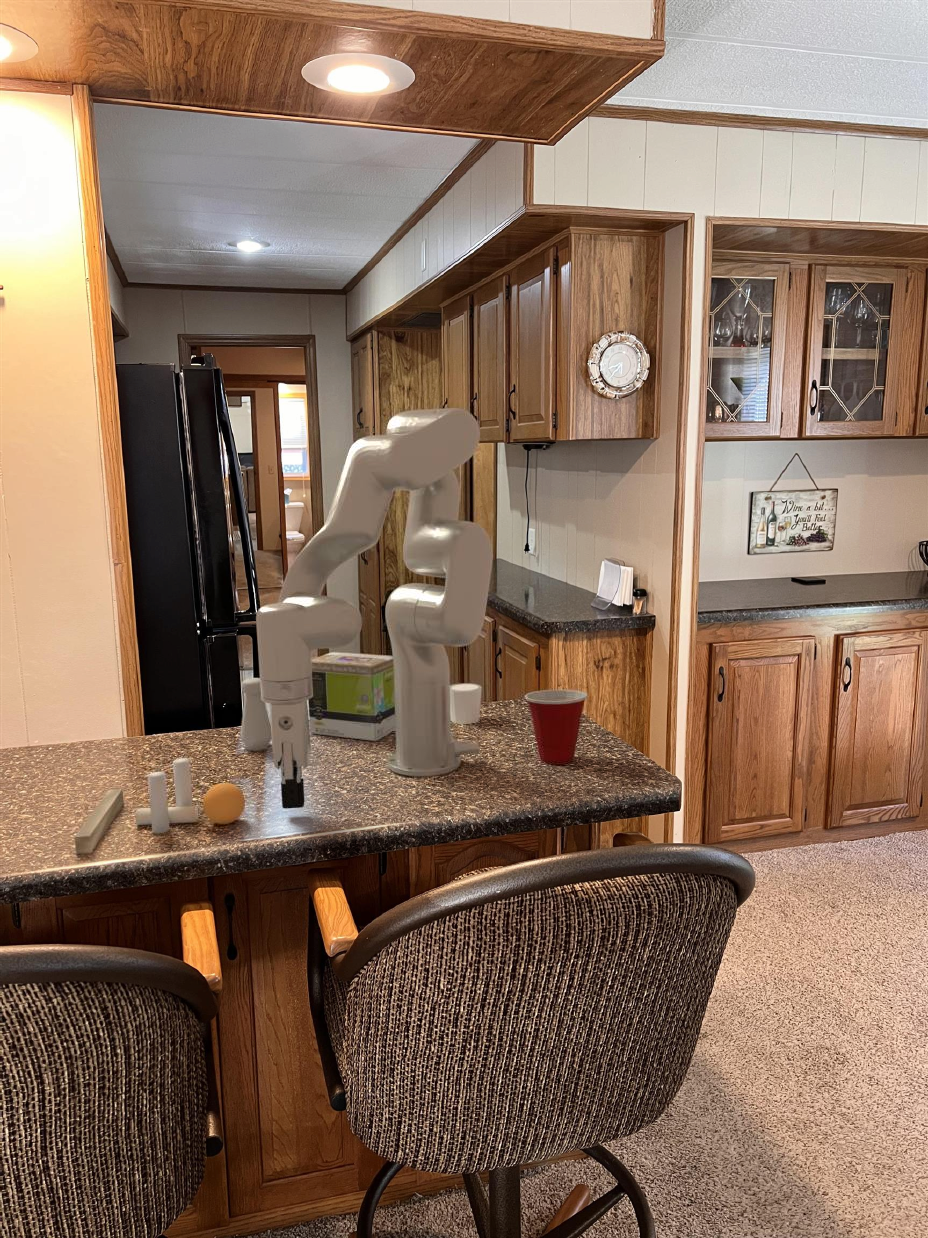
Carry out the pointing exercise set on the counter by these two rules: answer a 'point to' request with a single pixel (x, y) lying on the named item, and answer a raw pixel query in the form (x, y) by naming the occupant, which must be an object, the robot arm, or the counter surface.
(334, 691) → the tea box
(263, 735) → the salt shaker
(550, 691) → the plastic cup
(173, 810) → the front pin
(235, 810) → the ball
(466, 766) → the counter surface
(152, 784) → the pin
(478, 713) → the white cylinder
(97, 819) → the back rail
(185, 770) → the pin
